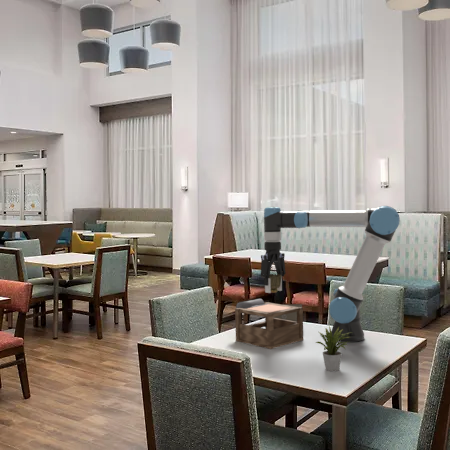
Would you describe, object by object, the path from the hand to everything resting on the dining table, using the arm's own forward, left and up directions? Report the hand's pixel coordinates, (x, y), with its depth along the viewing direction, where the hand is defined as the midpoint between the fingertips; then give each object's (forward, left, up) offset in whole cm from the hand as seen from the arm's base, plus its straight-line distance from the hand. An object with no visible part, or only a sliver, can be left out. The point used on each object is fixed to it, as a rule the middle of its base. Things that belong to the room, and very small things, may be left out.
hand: (273, 291), depth 254 cm
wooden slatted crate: (+3, 0, -23) cm, 23 cm away
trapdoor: (+7, 0, -11) cm, 13 cm away
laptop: (+17, -25, -24) cm, 38 cm away
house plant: (-46, +18, -23) cm, 54 cm away
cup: (0, 0, 0) cm, 0 cm away
